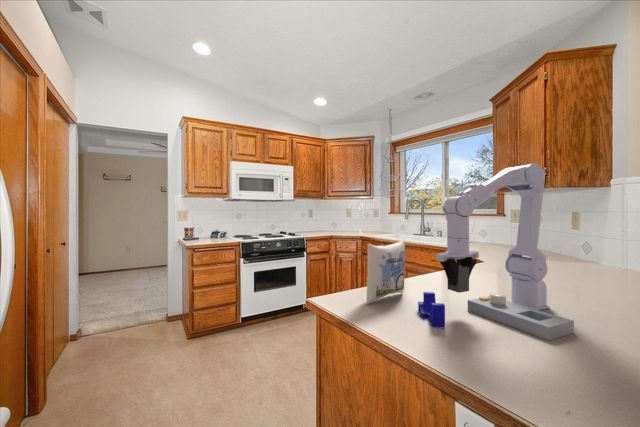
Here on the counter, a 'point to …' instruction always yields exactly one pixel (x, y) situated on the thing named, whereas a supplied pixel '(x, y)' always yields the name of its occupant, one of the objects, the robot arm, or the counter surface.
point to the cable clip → (432, 310)
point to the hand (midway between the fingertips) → (458, 284)
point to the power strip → (521, 316)
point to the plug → (461, 280)
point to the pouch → (385, 270)
